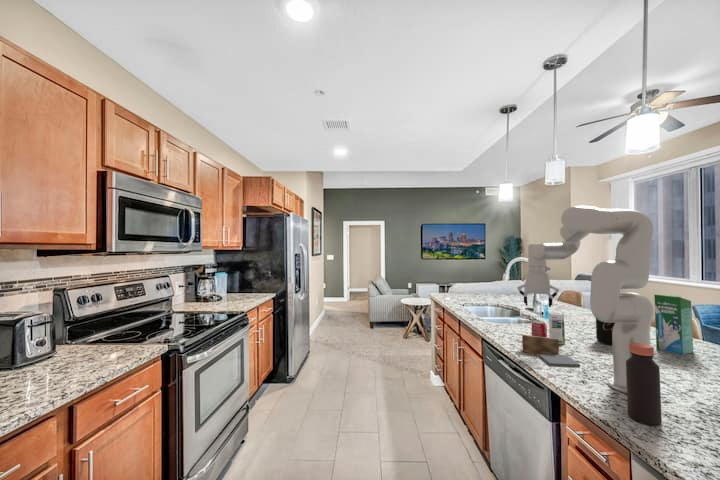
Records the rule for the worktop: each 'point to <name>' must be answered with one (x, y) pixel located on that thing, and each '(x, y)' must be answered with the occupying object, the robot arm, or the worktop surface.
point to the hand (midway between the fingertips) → (537, 305)
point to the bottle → (643, 385)
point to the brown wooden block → (540, 345)
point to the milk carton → (673, 324)
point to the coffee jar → (604, 332)
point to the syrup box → (557, 326)
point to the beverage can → (539, 329)
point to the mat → (558, 360)
